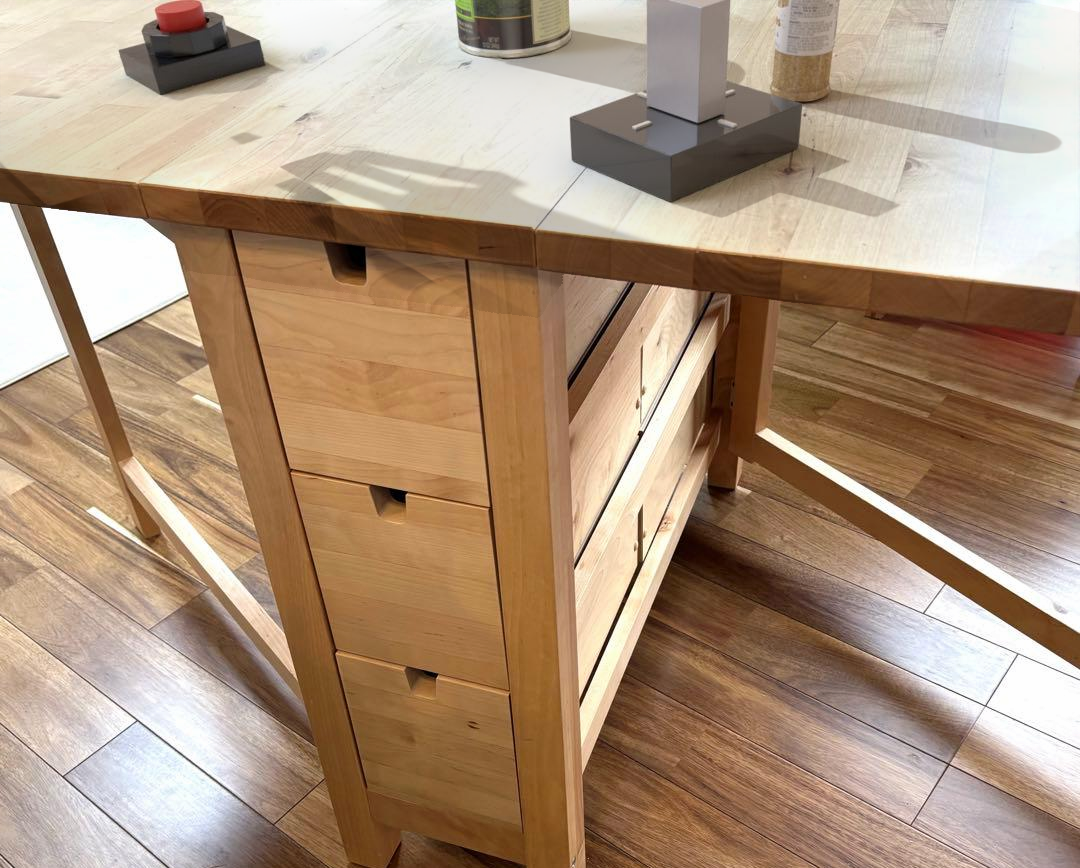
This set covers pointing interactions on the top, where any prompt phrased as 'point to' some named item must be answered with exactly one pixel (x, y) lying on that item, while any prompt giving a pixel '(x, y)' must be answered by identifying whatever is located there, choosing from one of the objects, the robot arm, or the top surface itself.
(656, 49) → the light grey upright block
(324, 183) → the top surface
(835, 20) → the sprinkles bottle
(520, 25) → the coffee can
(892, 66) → the top surface
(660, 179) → the dark grey flat block
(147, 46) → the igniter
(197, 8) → the ignition button
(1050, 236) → the top surface
